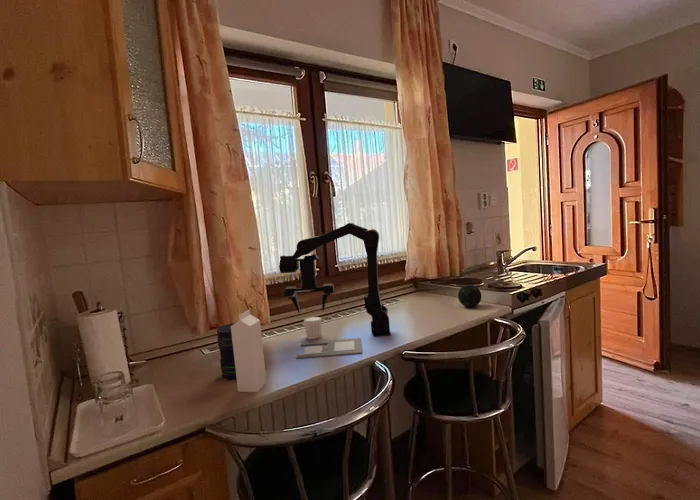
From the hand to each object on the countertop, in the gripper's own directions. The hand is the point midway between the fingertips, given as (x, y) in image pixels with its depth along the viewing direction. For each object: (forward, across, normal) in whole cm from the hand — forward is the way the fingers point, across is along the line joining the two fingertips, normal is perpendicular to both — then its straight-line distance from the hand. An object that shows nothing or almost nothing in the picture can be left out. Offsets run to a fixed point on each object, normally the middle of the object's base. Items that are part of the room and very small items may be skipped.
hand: (311, 311), depth 160 cm
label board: (+10, -7, +16) cm, 20 cm away
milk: (+10, +14, +43) cm, 46 cm away
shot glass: (+10, 0, 0) cm, 10 cm away
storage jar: (+10, +21, +32) cm, 39 cm away
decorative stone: (+10, -68, -25) cm, 73 cm away
